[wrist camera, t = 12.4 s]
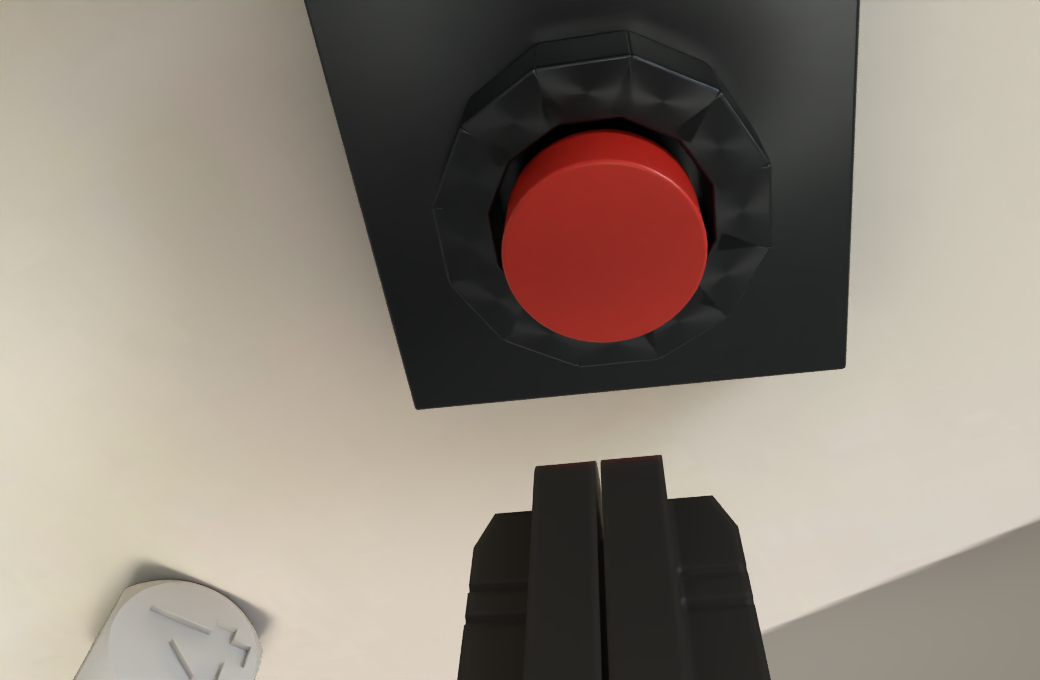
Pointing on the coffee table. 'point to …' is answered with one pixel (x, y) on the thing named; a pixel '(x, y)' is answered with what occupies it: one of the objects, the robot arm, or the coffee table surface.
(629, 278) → the button
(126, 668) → the die
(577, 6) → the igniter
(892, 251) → the coffee table surface
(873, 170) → the coffee table surface
